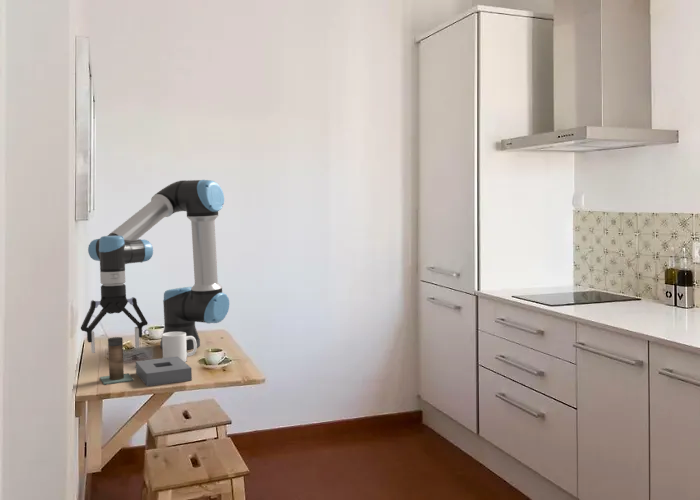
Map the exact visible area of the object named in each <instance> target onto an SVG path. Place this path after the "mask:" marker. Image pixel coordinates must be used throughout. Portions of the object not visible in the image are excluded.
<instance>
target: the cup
mask: <svg viewBox="0 0 700 500" xmlns="http://www.w3.org/2000/svg"><path fill="white" fill-rule="evenodd" d="M161 338H162V348H163V349H162V358H169V357H177V356H178V357H179V358H180V359H181V360H183V361H184V362H185V363H186V362H187V360H188V359H187V358H188V357H191V356H193V355H194V354H195V353H196V351H197V348H198V347H197V343H196V339H195V338H194V337H193V336H186V333H185V332H167V333H164V334H163V333H162V334H161ZM189 339H192V340H193V343H194V348H193V350H192V351H190V352H187V351H188V350H187V345H186V340H189Z"/></svg>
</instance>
